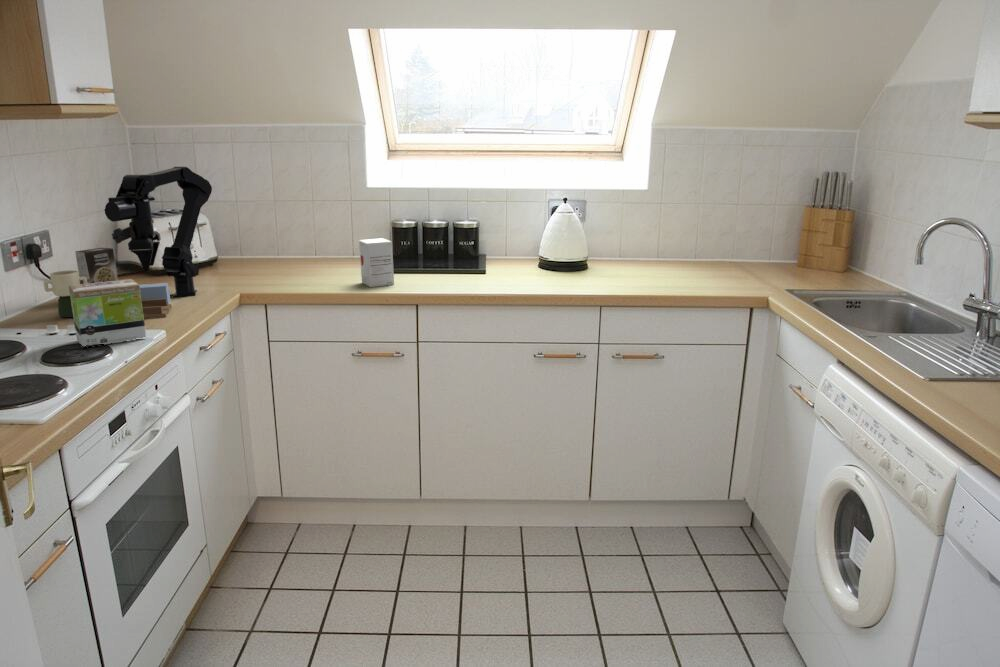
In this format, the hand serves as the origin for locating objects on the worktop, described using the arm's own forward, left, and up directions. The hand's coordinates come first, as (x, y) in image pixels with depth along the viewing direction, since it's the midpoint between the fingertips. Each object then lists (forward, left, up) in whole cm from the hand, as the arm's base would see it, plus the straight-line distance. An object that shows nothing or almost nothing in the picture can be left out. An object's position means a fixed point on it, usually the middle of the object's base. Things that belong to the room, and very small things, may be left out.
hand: (148, 268), depth 227 cm
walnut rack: (+13, -1, -11) cm, 17 cm away
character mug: (+9, -21, -11) cm, 25 cm away
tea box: (+40, -4, -11) cm, 42 cm away
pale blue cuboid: (0, 0, -11) cm, 11 cm away
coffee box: (-12, -17, -11) cm, 24 cm away
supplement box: (-7, +70, -11) cm, 71 cm away
